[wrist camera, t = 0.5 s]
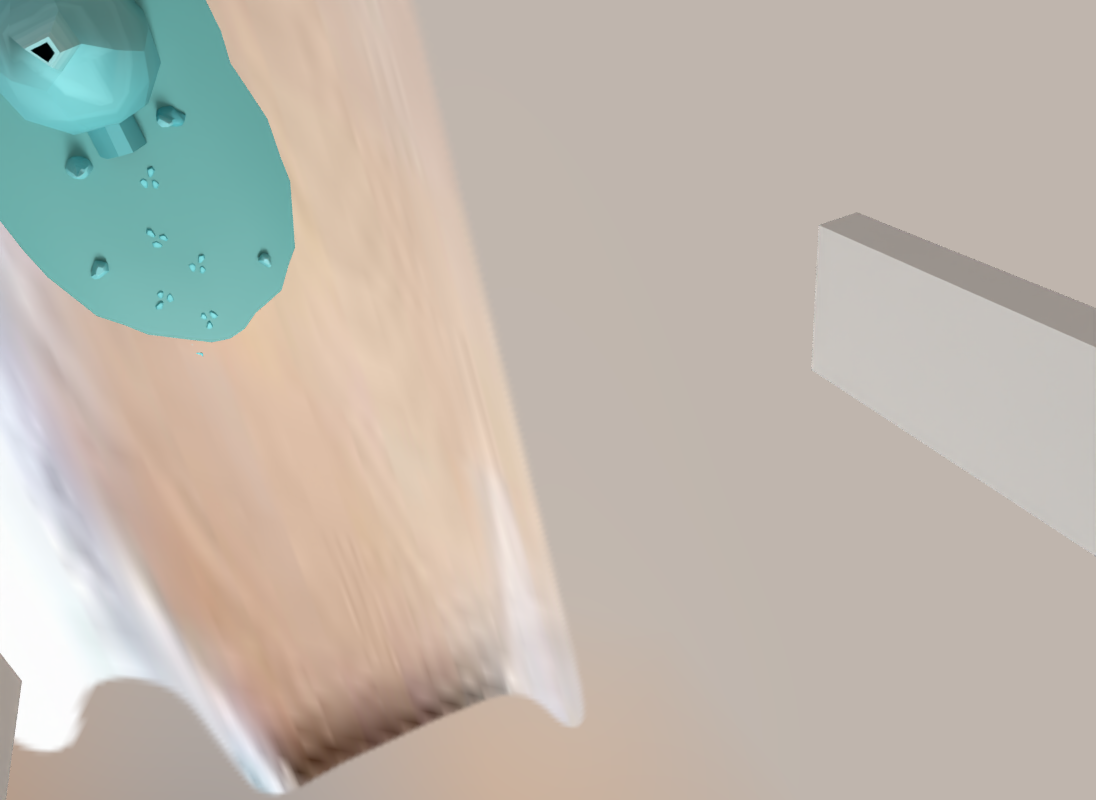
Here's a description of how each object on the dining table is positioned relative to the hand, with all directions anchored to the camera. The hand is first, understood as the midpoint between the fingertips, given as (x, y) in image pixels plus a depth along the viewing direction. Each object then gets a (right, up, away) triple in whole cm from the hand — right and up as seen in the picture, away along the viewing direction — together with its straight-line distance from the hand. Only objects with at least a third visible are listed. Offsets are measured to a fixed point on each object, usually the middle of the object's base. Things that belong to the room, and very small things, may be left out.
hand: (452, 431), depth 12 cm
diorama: (-15, +10, +21) cm, 28 cm away
